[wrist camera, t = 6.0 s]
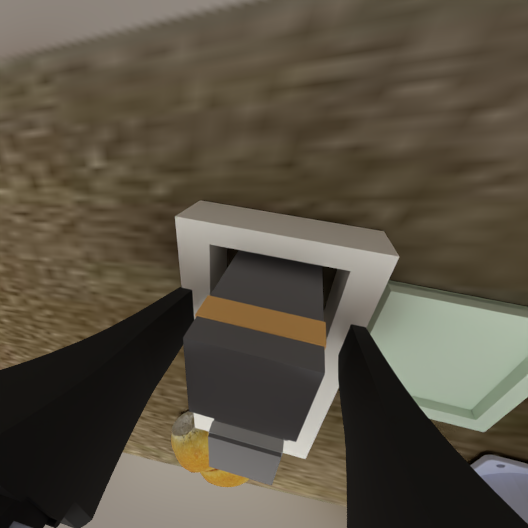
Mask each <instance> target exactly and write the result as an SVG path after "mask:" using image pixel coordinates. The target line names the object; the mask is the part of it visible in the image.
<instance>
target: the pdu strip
mask: <svg viewBox="0 0 528 528" xmlns="http://www.w3.org/2000/svg"><path fill="white" fill-rule="evenodd" d="M175 223H176V234H177V244H178V255H179V265H180V276H181V286H182V288H186V289H191V290H192V293H193V308H194V320H195V314H196V313H197V311H198V309H199V308H200V306H201V305H202V303H203V302H204V300H205V299H206V297H207V296H208V295H211V293H212V291H213V290H214V288H215V287H216V285H217V284H218V282H219V280H220V279H221V277H222V276H223V274H224V273H225V271H226V269H227V248H232V249H237V250H242V251H247V252H253V253H258V254H263V255H268V256H274V257H279V258H284V259H289V260H295V261H300V262H305V263H310V264H316V265H321V266H326V267H331V268H337V271H336V275H335V278H334V281H333V284H332V287H331V290H330V293H329V297H328V300H327V303H326V306H325V309H324V312H323V313H324V322H326V349H325V375H324V377H323V380H322V382H321V384H320V387H319V389H318V391H317V394H316V396H315V399H314V401H313V403H312V406H311V408H310V410H309V413H308V415H307V417H306V420H305V422H304V425H303V427H302V429H301V432H300V434H299V436H298V439H297V441H296V442H294V441H290V440H287V439H283V438H280V437H276V436H273V435H269V434H266V433H262V432H259V431H255V430H252V429H248V428H245V427H241V426H238V425H234V424H231V423H227V422H224V421H220V420H217V419H213V418H210V417H206V416H203V415H199V414H196V413H194V423H195V428H198V429H202V430H205V431H209V435H208V448H209V467H212V468H216V469H219V470H222V471H226V472H229V473H232V474H235V475H239V476H242V477H245V478H249V479H252V480H255V481H259V482H262V483H265V484H269V485H272V483H273V480H274V477H275V474H276V471H277V468H278V465H279V462H280V459H281V456H282V453H286V454H289V455H293V456H296V457H300V458H303V459H306V457H307V454H308V452H309V450H310V448H311V446H312V444H313V442H314V439H315V437H316V435H317V433H318V431H319V429H320V426H321V424H322V422H323V420H324V418H325V416H326V414H327V411H328V409H329V407H330V405H331V403H332V401H333V399H334V396H335V394H336V392H337V390H338V388H339V382H338V354H339V352H340V350H341V347H342V345H343V342H344V340H345V338H346V335H347V333H348V330H349V328H350V325H351V324H353V325H358V326H363V327H366V328H367V325H368V323H369V321H370V319H371V317H372V315H373V313H374V310H375V308H376V306H377V304H378V302H379V300H380V297H381V295H382V293H383V291H384V289H385V287H386V285H387V282H388V280H389V278H390V276H391V274H392V272H393V270H394V267H395V265H396V263H397V261H398V259H399V255H398V253H397V252H396V250H395V249H394V247H393V245H392V244H391V242H390V240H389V239H388V237H387V236H386V234H385V232H384V231H379V230H373V229H367V228H361V227H355V226H349V225H344V224H338V223H332V222H326V221H320V220H314V219H308V218H302V217H296V216H290V215H284V214H278V213H273V212H267V211H261V210H255V209H249V208H243V207H237V206H231V205H225V204H219V203H213V202H208V201H202V200H200V201H198V202H197V203H195V204H194V205H192V206H190V207H189V208H187V209H186V210H184V211H183V212H181V213H179V214H178V215H176V216H175Z"/></svg>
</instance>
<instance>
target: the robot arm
mask: <svg viewBox="0 0 528 528" xmlns="http://www.w3.org/2000/svg"><path fill="white" fill-rule="evenodd" d="M193 321H194V308H193V293H192V290H191V289H186V288H181V287H179V288H178V289H176V290H174V291H173V292H171V293H169V294H168V295H166V296H164V297H163V298H161V299H159V300H158V301H156V302H155V303H153V304H151V305H149V306H148V307H146V308H144V309H143V310H141V311H139V312H138V313H136V314H134V315H132V316H130V317H128V318H127V319H125V320H123V321H121V322H119V323H117V324H115V325H114V326H112V327H110V328H108V329H106V330H103V331H101V332H99V333H97V334H95V335H93V336H91V337H88V338H86V339H84V340H82V341H79V342H77V343H74V344H72V345H69V346H67V347H64V348H62V349H59V350H57V351H54V352H52V353H49V354H47V355H44V356H41V357H38V358H35V359H33V360H30V361H27V362H24V363H21V364H18V365H15V366H12V367H9V368H6V369H2V370H0V528H43V527H44V526H45V524H46V525H49V526H51V527H54V528H56V527H58V525H59V524H60V523H62V524H65V525H68V526H70V527H73V528H81V527H83V526H84V525H86V524H87V523H88V522H90V521H91V520H92V518H93V516H94V514H95V512H96V509H97V507H98V505H99V502H100V500H101V498H102V495H103V493H104V491H105V488H106V486H107V484H108V482H109V480H110V477H111V475H112V473H113V471H114V469H115V466H116V464H117V462H118V460H119V458H120V456H121V454H122V452H123V450H124V447H125V445H126V443H127V441H128V439H129V437H130V435H131V433H132V431H133V429H134V427H135V425H136V423H137V421H138V419H139V417H140V415H141V413H142V411H143V410H144V408H145V406H146V404H147V402H148V400H149V398H150V396H151V394H152V393H153V391H154V389H155V388H156V386H157V384H158V383H159V381H160V380H161V378H162V377H163V375H164V374H165V372H166V371H167V369H168V367H169V366H170V364H171V363H172V361H173V360H174V358H175V357H176V355H177V353H178V352H179V350H180V349H181V347H182V346H183V337H184V335H185V334H186V332H187V331H188V329H189V327H190V326H191V324H192V323H193ZM338 382H339V391H340V400H341V408H342V417H343V425H344V434H345V445H346V472H347V528H528V464H527V463H523V462H519V461H515V460H511V459H507V458H504V457H500V456H496V455H491V454H488V455H484V456H482V457H481V458H480V459H478V460H477V461H476V462H474V463H473V464H471V465H469V464H468V463H467V462H466V461H465V459H464V458H463V457H462V456H461V455H460V454H459V453H458V452H457V451H456V450H455V449H454V447H453V446H452V445H451V444H450V443H449V442H448V441H447V440H446V438H445V437H444V436H443V435H442V434H441V433H440V431H439V430H438V429H437V428H436V427H435V425H434V424H433V423H432V422H431V421H430V419H429V418H428V417H427V416H426V415H425V413H424V412H423V411H422V409H421V408H420V407H419V406H418V404H417V403H416V402H415V400H414V399H413V398H412V396H411V395H410V394H409V392H408V391H407V390H406V388H405V387H404V385H403V384H402V383H401V381H400V380H399V378H398V377H397V375H396V374H395V372H394V371H393V369H392V368H391V366H390V365H389V363H388V362H387V360H386V359H385V357H384V356H383V354H382V352H381V351H380V349H379V348H378V346H377V344H376V343H375V341H374V340H373V338H372V336H371V335H370V333H369V331H368V330H367V328H366V327H363V326H358V325H353V324H351V325H350V328H349V330H348V333H347V335H346V338H345V340H344V342H343V345H342V347H341V350H340V352H339V354H338Z"/></svg>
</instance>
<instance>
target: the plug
mask: <svg viewBox="0 0 528 528" xmlns="http://www.w3.org/2000/svg"><path fill="white" fill-rule="evenodd" d="M183 344H184V356H185V368H186V381H187V393H188V405H189V412H192V413H196V414H199V415H203V416H206V417H210V418H213V419H217V420H220V421H224V422H227V423H231V424H234V425H238V426H241V427H245V428H248V429H252V430H255V431H259V432H262V433H266V434H269V435H273V436H276V437H280V438H283V439H287V440H290V441H294V442H296V441H297V439H298V436H299V434H300V432H301V429H302V427H303V425H304V422H305V420H306V417H307V415H308V413H309V410H310V408H311V406H312V403H313V401H314V399H315V396H316V394H317V391H318V389H319V387H320V384H321V382H322V380H323V377H324V375H325V349H326V322H324V313H323V276H322V266H321V265H316V264H310V263H305V262H300V261H295V260H289V259H284V258H279V257H274V256H268V255H263V254H258V253H253V252H247V251H242V250H239V251H238V252H237V254H236V255H235V257H234V258H233V260H232V262H231V263H230V265H229V266H228V268H227V269H226V271H225V273H224V274H223V276H222V277H221V279H220V280H219V282H218V284H217V285H216V287H215V288H214V290H213V291H212V293H211V295H208V296H207V297H206V299H205V300H204V302H203V303H202V305H201V306H200V308H199V309H198V311H197V313H196V314H195V320H194V321H193V323H192V324H191V326H190V327H189V329H188V331H187V332H186V334H185V335H184V337H183Z"/></svg>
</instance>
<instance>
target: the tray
mask: <svg viewBox="0 0 528 528" xmlns="http://www.w3.org/2000/svg"><path fill="white" fill-rule="evenodd" d="M367 330H368V331H369V333H370V335H371V336H372V338H373V340H374V341H375V343H376V344H377V346H378V348H379V349H380V351H381V352H382V354H383V356H384V357H385V359H386V360H387V362H388V363H389V365H390V366H391V368H392V369H393V371H394V372H395V374H396V375H397V377H398V378H399V380H400V381H401V383H402V384H403V385H404V387H405V388H406V390H407V391H408V392H409V394H410V395H411V396H412V398H413V399H414V400H415V402H416V403H417V404H418V406H419V407H420V408H421V409H422V411H423V412H424V413H425V415H426V416H427V417H428V418H429V419H433V420H437V421H441V422H445V423H449V424H453V425H457V426H461V427H465V428H469V429H473V430H477V431H481V432H485V431H486V430H488V429H489V428H490V427H491V426H493V425H494V424H495V423H496V422H497V421H499V420H500V419H501V418H502V417H504V416H505V415H506V414H507V413H509V412H510V411H511V410H512V409H513V408H515V407H516V406H517V405H518V404H520V403H521V402H522V401H523V400H524V399H526V398H527V397H528V307H527V306H522V305H517V304H511V303H506V302H501V301H496V300H491V299H485V298H480V297H475V296H470V295H464V294H459V293H454V292H449V291H443V290H438V289H433V288H428V287H423V286H417V285H412V284H407V283H402V282H396V281H391V280H388V282H387V285H386V287H385V289H384V291H383V293H382V295H381V297H380V300H379V302H378V304H377V306H376V308H375V310H374V313H373V315H372V317H371V319H370V321H369V323H368V325H367Z"/></svg>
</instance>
